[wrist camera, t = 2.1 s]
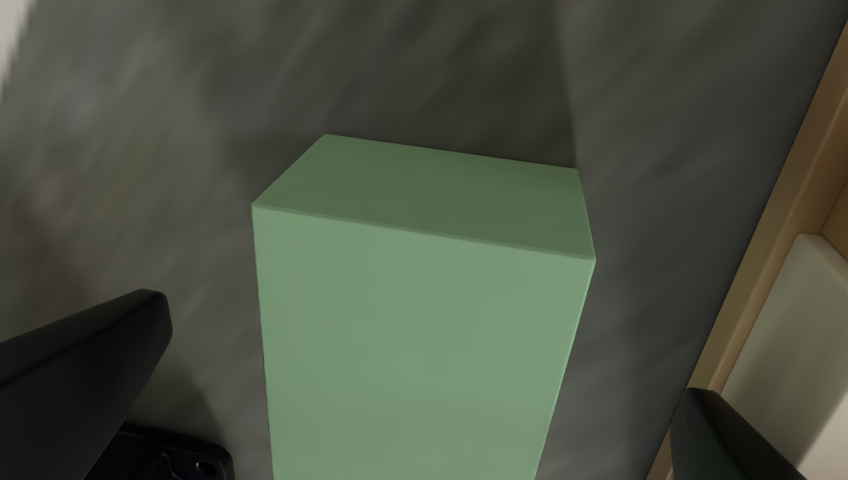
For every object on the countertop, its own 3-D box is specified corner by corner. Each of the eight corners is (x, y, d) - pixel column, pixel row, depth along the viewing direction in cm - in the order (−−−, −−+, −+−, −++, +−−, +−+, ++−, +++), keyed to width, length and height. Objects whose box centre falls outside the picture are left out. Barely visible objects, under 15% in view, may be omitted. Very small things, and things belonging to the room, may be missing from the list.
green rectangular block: (519, 417, 12) (516, 546, 10) (325, 380, 13) (272, 494, 10) (580, 168, 9) (597, 258, 7) (323, 132, 10) (249, 204, 7)
